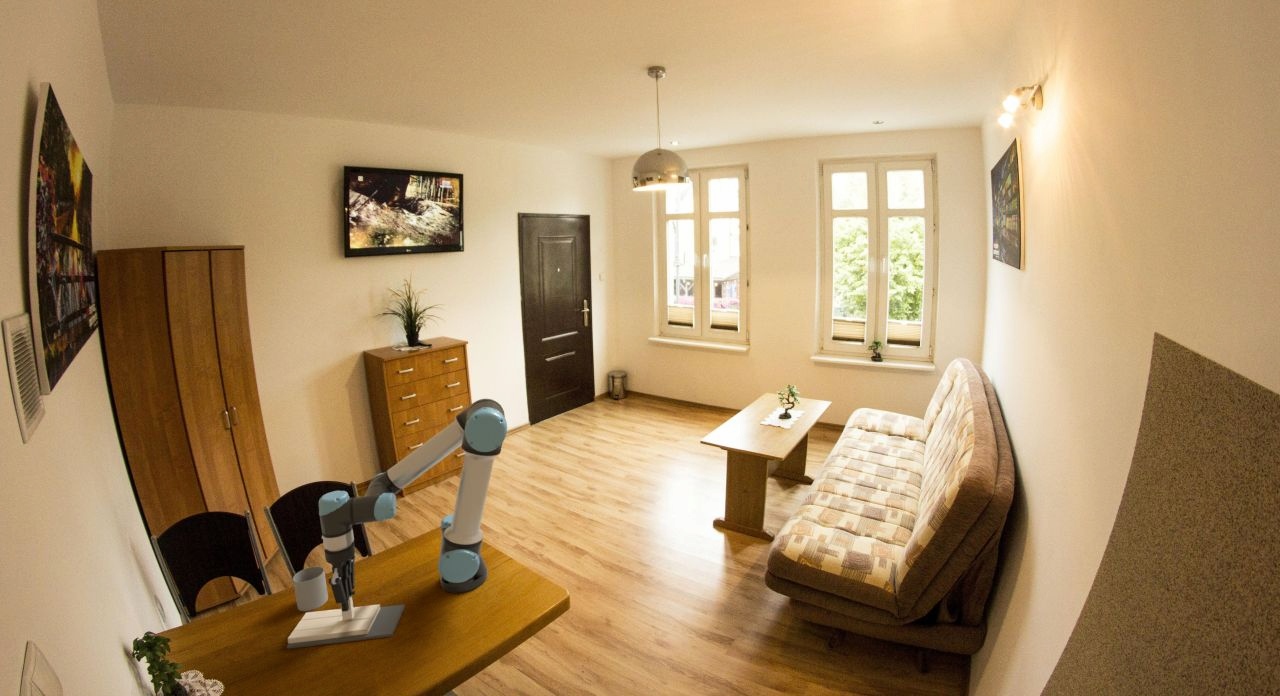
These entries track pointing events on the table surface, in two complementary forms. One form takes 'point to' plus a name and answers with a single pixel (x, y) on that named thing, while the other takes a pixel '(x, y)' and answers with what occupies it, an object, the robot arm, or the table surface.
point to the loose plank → (356, 622)
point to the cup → (310, 588)
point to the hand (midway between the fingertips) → (348, 617)
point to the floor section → (321, 623)
